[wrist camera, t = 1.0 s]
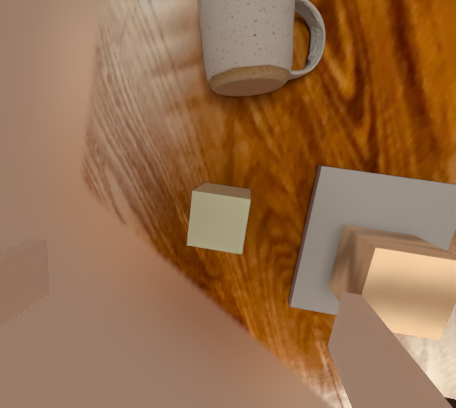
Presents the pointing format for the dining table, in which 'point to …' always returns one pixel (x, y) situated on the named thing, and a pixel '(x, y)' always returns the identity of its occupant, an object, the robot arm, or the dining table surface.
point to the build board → (364, 223)
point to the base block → (397, 279)
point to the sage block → (219, 217)
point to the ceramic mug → (255, 43)
